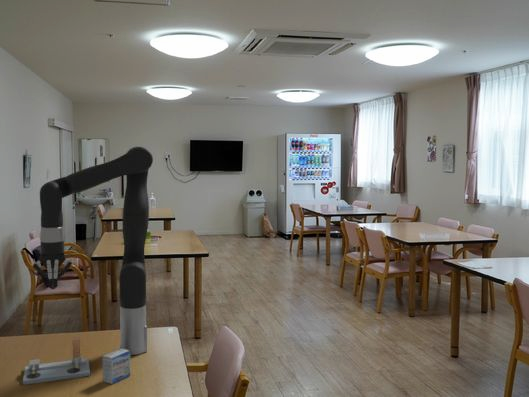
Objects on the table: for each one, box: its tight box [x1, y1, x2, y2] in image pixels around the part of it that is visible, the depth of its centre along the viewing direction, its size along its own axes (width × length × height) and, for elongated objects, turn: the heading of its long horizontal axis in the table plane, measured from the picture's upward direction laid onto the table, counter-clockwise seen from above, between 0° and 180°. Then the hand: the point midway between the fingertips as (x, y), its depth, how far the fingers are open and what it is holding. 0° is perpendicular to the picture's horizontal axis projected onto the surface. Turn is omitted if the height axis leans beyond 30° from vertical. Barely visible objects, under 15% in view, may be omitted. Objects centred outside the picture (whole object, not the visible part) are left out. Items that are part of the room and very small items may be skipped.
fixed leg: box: [28, 358, 41, 376], centre depth 167 cm, size 3×7×2 cm, turn 21°
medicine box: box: [101, 348, 131, 385], centre depth 166 cm, size 8×4×9 cm, turn 148°
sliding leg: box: [71, 336, 82, 370], centre depth 172 cm, size 3×7×9 cm, turn 21°
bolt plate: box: [22, 358, 91, 386], centre depth 170 cm, size 20×12×2 cm, turn 111°
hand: (53, 288), depth 178 cm, fingers closed
